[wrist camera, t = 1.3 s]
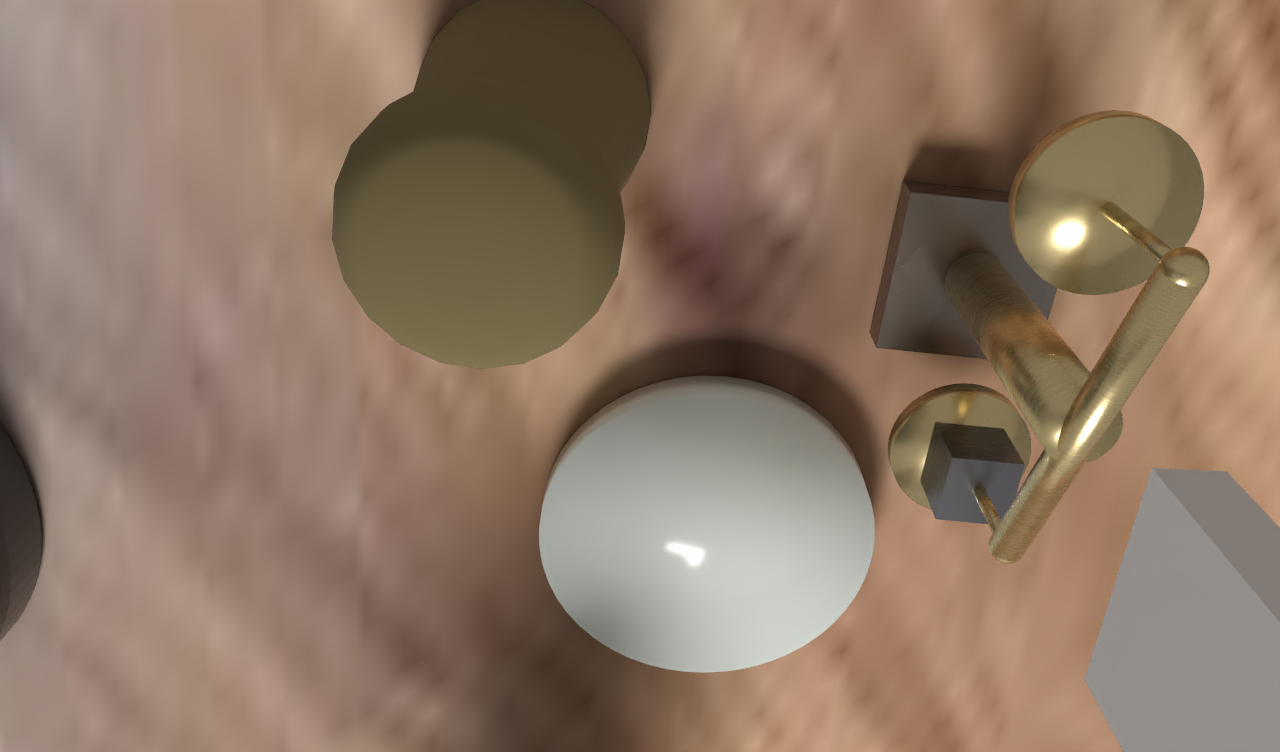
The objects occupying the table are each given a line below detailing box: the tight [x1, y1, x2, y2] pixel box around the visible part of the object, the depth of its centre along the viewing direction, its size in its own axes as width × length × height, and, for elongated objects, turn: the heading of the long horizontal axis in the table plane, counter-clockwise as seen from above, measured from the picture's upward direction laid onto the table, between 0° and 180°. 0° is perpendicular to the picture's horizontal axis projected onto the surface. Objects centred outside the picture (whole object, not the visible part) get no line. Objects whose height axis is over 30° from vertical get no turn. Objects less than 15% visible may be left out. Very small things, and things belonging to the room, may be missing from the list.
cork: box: [332, 0, 651, 369], centre depth 23 cm, size 6×6×11 cm
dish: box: [539, 375, 875, 673], centre depth 33 cm, size 10×10×1 cm
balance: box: [870, 110, 1209, 564], centre depth 24 cm, size 4×12×11 cm, turn 174°
